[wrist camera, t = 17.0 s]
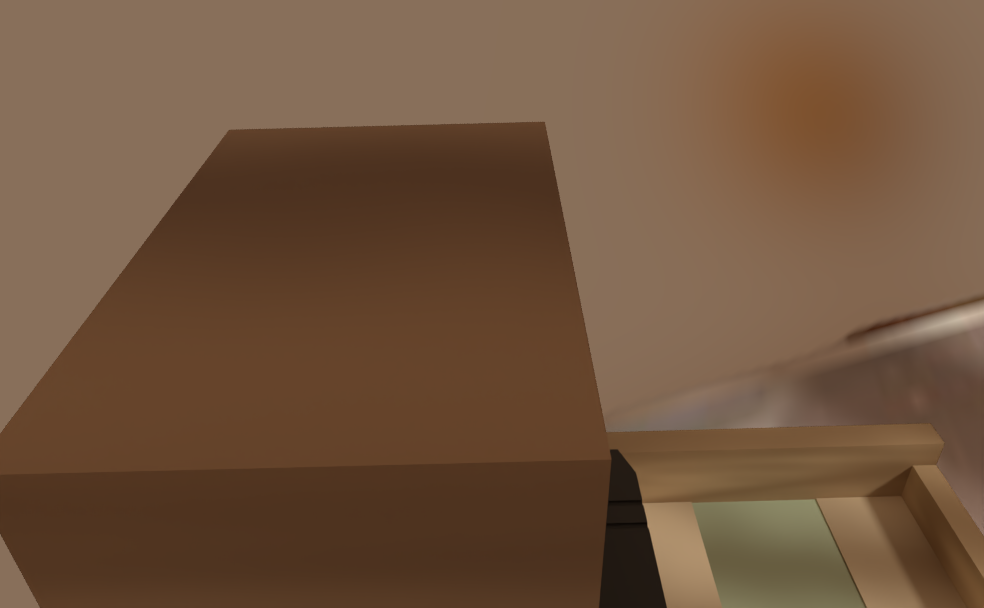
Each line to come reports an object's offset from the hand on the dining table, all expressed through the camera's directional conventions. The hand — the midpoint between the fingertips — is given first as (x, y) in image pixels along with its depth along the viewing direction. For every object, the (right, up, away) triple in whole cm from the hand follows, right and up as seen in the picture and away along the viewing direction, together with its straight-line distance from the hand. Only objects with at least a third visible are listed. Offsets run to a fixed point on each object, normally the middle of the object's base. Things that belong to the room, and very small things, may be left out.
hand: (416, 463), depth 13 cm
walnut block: (0, -7, +1) cm, 7 cm away
